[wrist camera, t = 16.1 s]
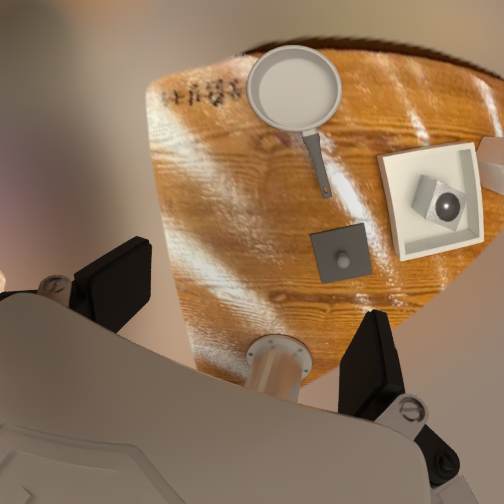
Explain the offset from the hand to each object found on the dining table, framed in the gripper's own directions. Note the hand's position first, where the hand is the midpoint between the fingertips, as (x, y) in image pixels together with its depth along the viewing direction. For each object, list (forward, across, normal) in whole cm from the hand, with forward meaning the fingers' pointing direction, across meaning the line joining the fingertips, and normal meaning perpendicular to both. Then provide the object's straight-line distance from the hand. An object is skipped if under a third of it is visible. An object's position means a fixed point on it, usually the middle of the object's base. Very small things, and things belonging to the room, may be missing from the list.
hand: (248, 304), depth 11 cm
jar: (+31, -28, -14) cm, 44 cm away
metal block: (+30, -18, -5) cm, 35 cm away
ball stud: (+30, -8, +8) cm, 32 cm away
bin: (+30, -18, -5) cm, 36 cm away
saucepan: (+31, +2, -9) cm, 32 cm away
